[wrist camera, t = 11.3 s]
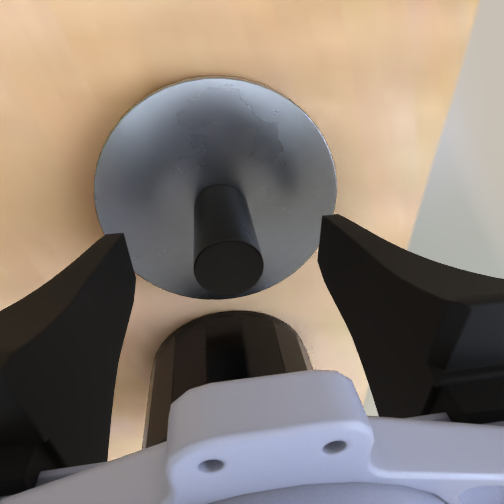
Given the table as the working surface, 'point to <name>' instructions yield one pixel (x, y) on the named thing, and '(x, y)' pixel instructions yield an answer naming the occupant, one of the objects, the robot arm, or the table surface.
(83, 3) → the table surface
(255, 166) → the lid
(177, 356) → the black round pot
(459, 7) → the table surface
